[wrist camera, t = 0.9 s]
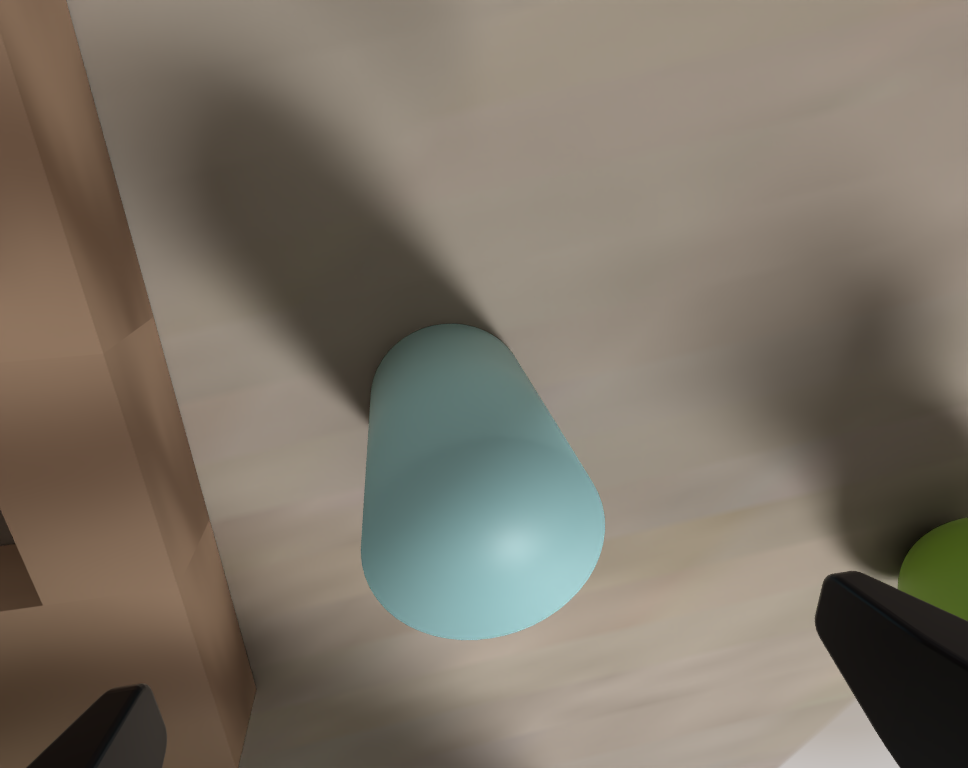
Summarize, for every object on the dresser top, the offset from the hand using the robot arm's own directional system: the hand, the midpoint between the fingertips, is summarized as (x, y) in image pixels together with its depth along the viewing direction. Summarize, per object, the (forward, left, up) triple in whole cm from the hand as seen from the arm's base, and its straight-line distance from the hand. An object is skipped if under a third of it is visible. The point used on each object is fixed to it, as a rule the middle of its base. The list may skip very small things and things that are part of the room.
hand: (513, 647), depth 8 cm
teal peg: (0, 0, -8) cm, 8 cm away
